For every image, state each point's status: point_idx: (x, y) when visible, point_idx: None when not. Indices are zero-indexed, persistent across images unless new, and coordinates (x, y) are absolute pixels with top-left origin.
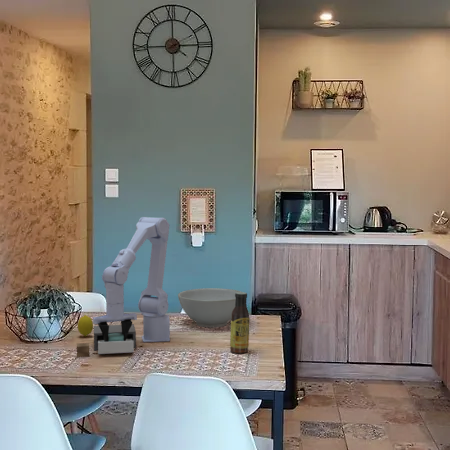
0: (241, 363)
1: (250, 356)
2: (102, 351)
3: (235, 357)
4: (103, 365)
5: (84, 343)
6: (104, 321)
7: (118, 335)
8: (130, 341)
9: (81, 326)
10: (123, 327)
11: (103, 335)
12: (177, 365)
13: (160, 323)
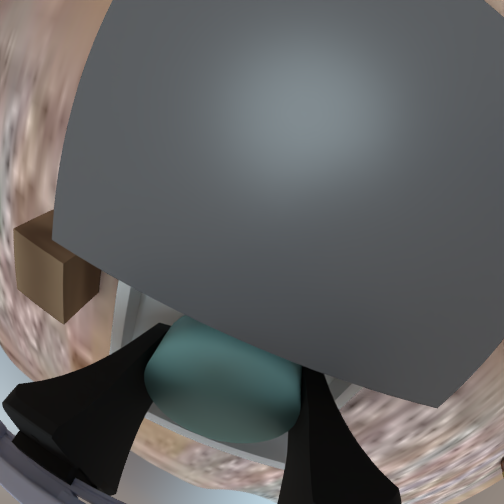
0: (438, 498)
1: (490, 475)
2: None
3: (473, 477)
4: None
5: (41, 256)
6: (61, 484)
7: (242, 420)
8: (276, 466)
9: None
10: (291, 480)
11: (118, 358)
12: None
13: None
